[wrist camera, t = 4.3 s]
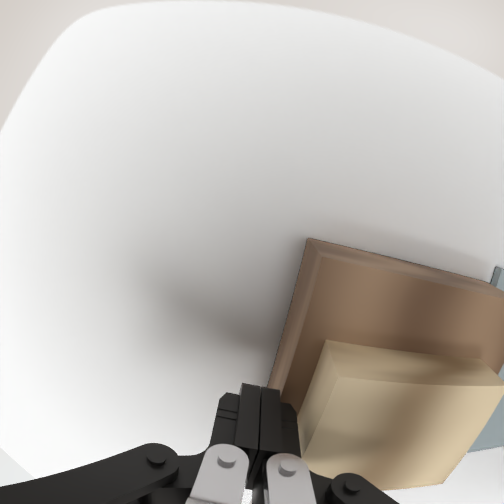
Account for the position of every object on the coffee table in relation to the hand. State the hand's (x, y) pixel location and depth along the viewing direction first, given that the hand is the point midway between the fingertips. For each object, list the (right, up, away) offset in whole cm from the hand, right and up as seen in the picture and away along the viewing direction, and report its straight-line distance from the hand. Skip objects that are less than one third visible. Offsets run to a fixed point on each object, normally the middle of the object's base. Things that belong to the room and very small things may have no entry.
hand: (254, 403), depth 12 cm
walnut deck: (+7, 0, +4) cm, 8 cm away
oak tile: (+6, -1, 0) cm, 6 cm away
